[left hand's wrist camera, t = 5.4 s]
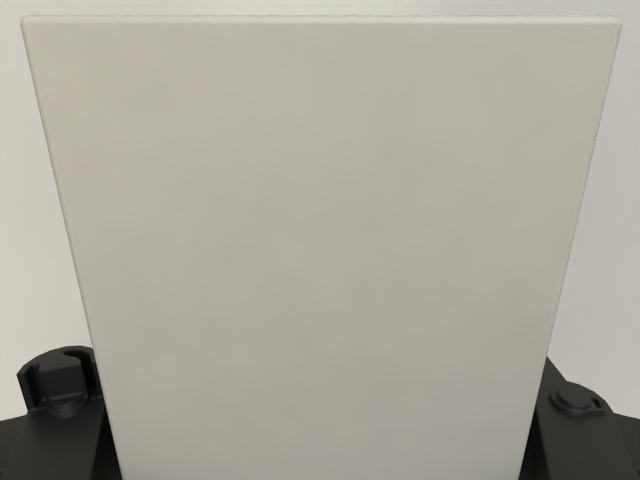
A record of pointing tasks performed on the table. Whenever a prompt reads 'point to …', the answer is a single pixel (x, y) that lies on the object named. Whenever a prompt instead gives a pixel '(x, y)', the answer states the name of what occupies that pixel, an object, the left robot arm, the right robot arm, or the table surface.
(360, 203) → the beam
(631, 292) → the table surface
